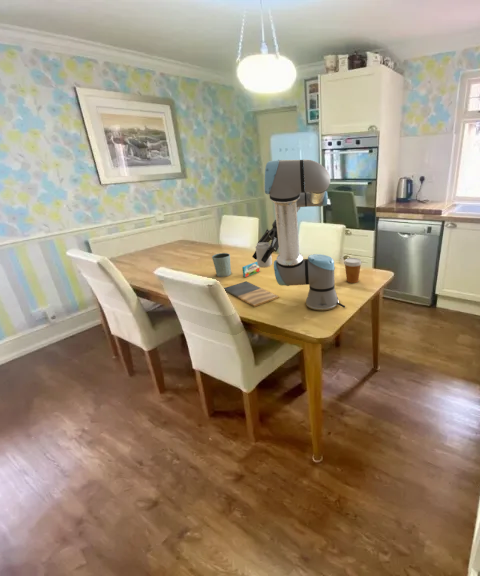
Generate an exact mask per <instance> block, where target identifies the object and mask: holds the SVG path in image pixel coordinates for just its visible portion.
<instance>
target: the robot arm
mask: <svg viewBox="0 0 480 576" xmlns="http://www.w3.org/2000/svg"><path fill="white" fill-rule="evenodd" d="M264 168H265V169H264V194H266V195H268V196H269V200H270V201H272V203H274V213H275V219H274V221H273V222H272V224H271V226H272V227H271V229H268V228H267V229H266V230H265V232H264V234H263V235H262V236H261V237H260V239H259V240H258V241H257V243H261V242H268V243H270V244H269V245H270V248H268V250H267V251H266V253H265V254H264V256H263V257H262V259H261V261H263V262H264V263H266V261H267V260H268V258H269V257H270V255H271V256H272V254H273V253H277V251H278V252H279V253H278V255H277V256H276V259H275V260H274V261H273V270H274V271H273V272H274V277H275V281H276V283H277V284H278V286H282V287H283V286H287V287H290V286H309V288H308V289H309V290H308V293H307V297H306V300H305V304H306V307H307V308H308V309H310V310H313V311H318V312H326V311H332V310H334V309H336V308H337V307H338V306H340V307H341V308H344V309H345V308H346V305H344V304H342V303H340V302H339V301H340V300H339V297H338V295H337V294H338V293H337V292H336V289H335V285H336V284H335V281H336V280H335V269H336V268H335V260H334V259H333V258H332V257H331V256H329V255H326V254H321V253H314V254H310V255H308V256H307V258H304V256H303V254H302V253H300V242H299V241H300V240H299V225H298V223H299V222H298V212H299V210H300V209H301V208H311V207H326V206H327V205H328V192H327V190H329V187H330V185H331V176H330V173H329V171H328V169H326V167H325V166H323V165H322V164H321V163H319V162H317V161H315V160H312V159H306V158H305V159H277V160H269V161H267V162H266V164H265V167H264ZM252 258H253V260H255V261H257V255H256V250H255V251H254V253H253V255H252Z"/></svg>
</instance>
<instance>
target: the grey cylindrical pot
mask: <svg viewBox="0 0 480 576" xmlns="http://www.w3.org/2000/svg"><path fill="white" fill-rule="evenodd" d="M211 259H212V263H213V265H214V270H215V273H216V276H217V277H218V278H225V277H229V276H231V275H232V268H231V267H232V265H231V254H230V253H227V252H220V253H215V254H213V255H212V256H211Z"/></svg>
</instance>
